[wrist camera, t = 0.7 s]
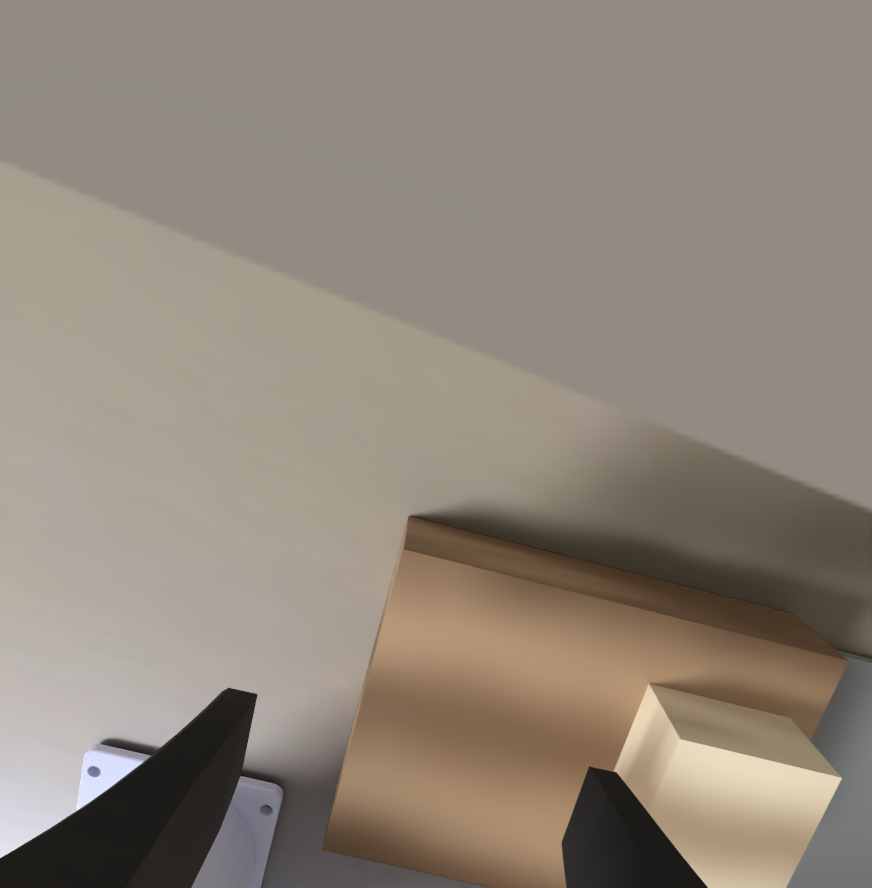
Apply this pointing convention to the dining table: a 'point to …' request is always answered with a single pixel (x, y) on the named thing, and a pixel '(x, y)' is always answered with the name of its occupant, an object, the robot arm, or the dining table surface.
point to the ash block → (727, 786)
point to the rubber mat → (844, 787)
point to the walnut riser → (534, 697)
